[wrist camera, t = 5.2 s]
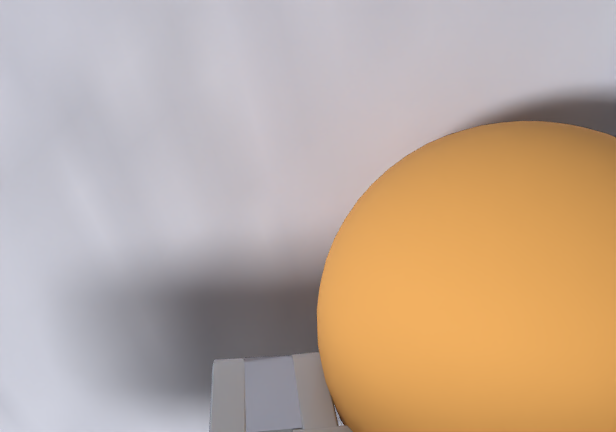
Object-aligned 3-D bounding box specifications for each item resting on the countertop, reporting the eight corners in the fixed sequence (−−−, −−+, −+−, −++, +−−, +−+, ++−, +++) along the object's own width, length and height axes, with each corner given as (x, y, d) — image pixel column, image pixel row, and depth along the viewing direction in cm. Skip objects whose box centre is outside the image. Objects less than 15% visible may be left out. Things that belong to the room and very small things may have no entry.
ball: (329, 401, 12) (502, 735, 7) (215, 174, 9) (377, 478, 4) (555, 274, 13) (862, 491, 8) (523, 25, 10) (1003, 110, 5)
